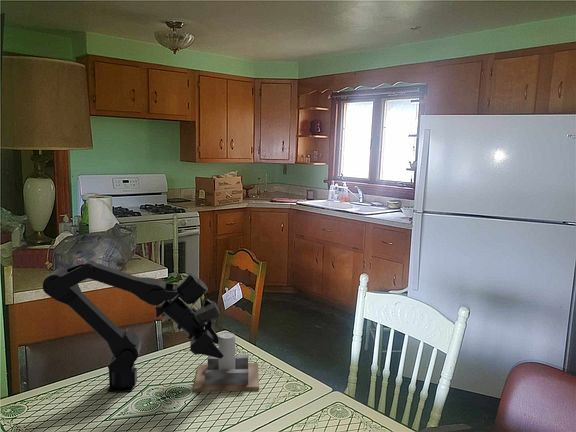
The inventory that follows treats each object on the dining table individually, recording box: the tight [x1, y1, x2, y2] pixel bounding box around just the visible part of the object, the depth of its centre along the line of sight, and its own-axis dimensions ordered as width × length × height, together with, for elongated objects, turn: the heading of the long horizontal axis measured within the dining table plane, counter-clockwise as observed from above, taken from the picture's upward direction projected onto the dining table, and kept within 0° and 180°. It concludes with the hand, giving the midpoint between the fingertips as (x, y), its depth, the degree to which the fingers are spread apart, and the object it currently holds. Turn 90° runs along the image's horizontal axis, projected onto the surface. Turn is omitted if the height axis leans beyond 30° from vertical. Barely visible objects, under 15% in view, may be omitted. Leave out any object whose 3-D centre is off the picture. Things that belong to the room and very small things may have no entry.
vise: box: [193, 354, 260, 393], centre depth 136 cm, size 18×15×4 cm
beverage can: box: [217, 331, 236, 370], centre depth 135 cm, size 5×5×12 cm
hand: (221, 350), depth 134 cm, fingers open, 9 cm apart
